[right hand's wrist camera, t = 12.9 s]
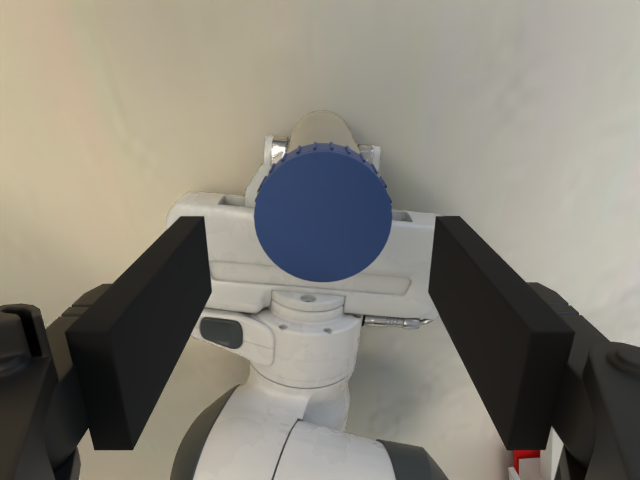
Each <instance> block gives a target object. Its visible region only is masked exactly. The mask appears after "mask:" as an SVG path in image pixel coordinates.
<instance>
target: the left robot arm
mask: <svg viewBox="0 0 640 480" xmlns="http://www.w3.org/2000/svg"><path fill="white" fill-rule="evenodd" d="M288 141H289V138H288V137H280V136H271V135H267V136H266V137H265V143H264V161H263V164H262V165H261V167H260V168H259V170H258V171H257V173H256V174H255V176H254V177H253V179H252V180H251V182H250V184H249V185H248V187H247V188H246V193H245V196H240V195H229V194H218V193H207V192H197V191H190V192H187V193H186V194H185V195H183V196H182V197H181V198H179V199H178V200H177V201H176V202H175V203H174V204H173V206H172V207H171V208H170V209H169V211H168V214H167V218H166V230H167V229H168V228H169V227H170V226H171V225H172V224H173V223H174V222H175V221H176V220H177V219H178V218H179V217H180V216H204V219H205V228H206V238H207V248H208V257H209V267H210V277H211V286H212V293H211V295H210V297H209V299H208V301H207V303H206V305H205V307H204V309H203V311H202V313H201V315H200V317H199V319H198V321H197V323H196V325H195V327H194V329H193V331H192V333H191V335H190V336H191V337H193V338H195V339H198V340H201V341H203V342H206V343H209V344H212V345H215V346H218V347H220V348H223V349H226V350H228V351H231V352H233V353H235V354H238V355H240V356H242V357H244V358H246V359H248V360H249V363H250V374H249V377H248V379H247V382H246V383H245V384H244V385H240V384H239V385H237V386H235V387H233V388H232V389H230V390H229V391H227V392H226V393H225V394H224V395H222V396H221V397H220V398H219V399H217V400H216V401H215V402H214V403H213V404H211V405H210V406H209V407H208V408H206V409H205V410H204V411H203V412H202V413H201V414H200V415H199V416H198V417H197V418H196V420H195V421H194V422H193V424H192V425H191V427H190V428H189V430H188V431H187V433H186V435H185V436H184V438H183V440H182V442H181V444H180V446H179V448H178V451H177V454H176V457H175V460H174V464H173V468H172V472H171V478H170V480H448V478H447V477H446V475H445V474H444V472H443V471H442V470H441V468H440V467H439V466H438V465H437V463H436V462H435V461H434V460H433V458H432V457H431V456H430V455H429V454H428V453H427V452H426V451H425V449H424V448H422V447H418V446H413V445H407V444H402V443H396V442H391V441H385V440H380V439H377V440H371V439H368V438H364V437H360V436H356V435H353V434H349V433H345V432H344V431H345V427H346V422H347V417H348V411H349V404H350V393H349V388H348V381H349V379H350V377H351V376H352V373H353V371H354V369H355V365H356V360H357V353H358V347H359V340H360V334H361V326H375V327H392V326H393V327H401V328H403V329H418V328H419V326H420V325H424V324H427V323H429V322H431V321H433V320H435V319H437V318H438V316H439V313H438V311H437V309H436V307H435V305H434V303H433V301H432V299H431V297H430V295H429V293H428V286H429V277H430V267H431V257H432V248H433V238H434V228H435V218H436V216H442V215H440V214H435V213H424V212H413V211H403V210H392V226H391V231H390V235H389V238H388V241H387V243H386V245H385V247H384V249H383V250H382V252H381V253H380V255H379V256H378V257H377V258H376V259H375V260H374V262H372V263H371V264H370V265H369V266H368V267H367V268H365V269H364V270H363V271H361V272H359V273H358V274H356V275H354V276H352V277H349V278H346V279H343V280H339V281H334V282H311V281H307V280H302V279H300V278H297V277H294V276H292V275H290V274H288V273H286V272H285V271H283V270H282V269H280V268H279V267H278V266H277V265H276V264H274V263H273V262H272V260H271V259H270V258H269V257H268V256H267V254H266V253H265V252H264V250H263V248H262V247H261V245H260V243H259V240H258V237H257V235H256V230H255V225H254V209H255V204H256V202H255V199H256V197H257V195H258V193H259V191H260V189H261V187H260V184H261V182H262V181H263V179H264V177H265V176H267V175H268V174H269V170H270V168H271V166H272V164H273V163H275V164H276V163H277V162H278V161H279V160H280V159H281V157H282V155H283V153H284V150H285V148H286V146H287V144H288ZM358 147H359V149H360V151H361V153H362V154H363V156H364V158H365V159H366V160H367V161H368V162H369V163H370V164H372V163H373V165H374V166H375V168H376V170H377V172H378V171H379V164H380V157H381V148H380V147H379V146H373V145H362V144H358ZM378 176H379V175H378ZM420 319H422V320H420Z"/></svg>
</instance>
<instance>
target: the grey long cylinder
mask: <svg viewBox="0 0 640 480" xmlns="http://www.w3.org/2000/svg"><path fill="white" fill-rule="evenodd" d="M314 142H317V143H330V142H333V144H337V145H341V146H344V147H346V145H347V146H349V149H351V150H353V151H355V152H357V153H358V154H360V153H361V151H360V149H359V147H358V145H357V143H356V141H355V139H354V137H353V135H352V133H351V131H350V129H349V127H348V125H347V124H346V122H345V121H344V120H343V119H342V118H341V117H340V116H339V115H337V114H335V113H333V112H330V111H325V110H318V111H314V112H311V113H308V114H307V115H305V116H304V117H303V118H301V119H300V121H299V122H298V123H297V125H296V127H295V129H294V131H293V133H292V135H291V137H290V139H289V142H288V144H287V146H286V148H285V150H284V153H287V154H288V153H289V152H291V151H293V150H295V149H297V148H298V146H299V145H301V147H302V146H305V145H309V144H314ZM284 153H283V155H284ZM283 155H282V157H283ZM282 157H281V158H282Z"/></svg>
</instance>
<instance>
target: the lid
mask: <svg viewBox="0 0 640 480" xmlns="http://www.w3.org/2000/svg"><path fill="white" fill-rule="evenodd" d="M260 187H261V189H260V191H259V193H258V195H257V197H256V199H255V202H256V204H255V209H254V225H255V230H256V235H257V237H258V240H259V243H260V245H261V247H262V248H263V250H264V252H265V253H266V254H267V256H268V257H269V258H270V259H271V260H272V262H273V263H274V264H276V265H277V266H278V267H279V268H280V269H282V270H283V271H285V272H286V273H288V274H290V275H292V276H294V277H297V278H300V279H302V280H307V281H311V282H334V281H339V280H343V279H346V278H349V277H352V276H354V275H356V274H358V273H359V272H361V271H363V270H364V269H365V268H367V267H368V266H369V265H370V264H371V263H372V262H374V260H375V259H376V258H377V257H378V256H379V255H380V253H381V252H382V250H383V249H384V247H385V245H386V243H387V241H388V238H389V235H390V231H391V226H392V208H391V203H392V202H391V199H390V197H389V195H388V193H387V191H386V189H385V188H386V187H387V186H386V184H385V182H384V181H383V179H382V177H381V176H380V177H379V176H378V172H377V170H376V168H375V166H374V165H373V163H372V164H370V163H369V162H368V161H367V160H366V159H365V158H364V156H363V154H362V153H360V154H358V153H357V152H355V151H353V150H351V149H349V146H347V145H346V147H344V146H341V145H337V144H333V142H330V143H317V142H314V144H309V145H305V146H302V147H301V145H299V146H298V148H297V149H295V150H293V151H291V152H289V153H288V154H287V153H284V155H283V157H282V158H281V159H280V160H279V161H278V162H277V163H276V164H275V163H273V164H272V166H271V168H270V170H269V174H268V176H265V177H264V179H263V181H262V182H261V184H260Z"/></svg>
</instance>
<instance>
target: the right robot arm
mask: <svg viewBox="0 0 640 480" xmlns="http://www.w3.org/2000/svg"><path fill="white" fill-rule="evenodd" d="M211 293H212V286H211V277H210V267H209V257H208V248H207V238H206V228H205V219H204V216H180V217H179V218H178V219H177V220H176V221H175V222H174V223H173V224H172V225H171V226H170V227H169V228H168V229H167V230H166V231H165V232H164V233H163V234H162V235H161V236H160V237H159V238H158V239H157V240H156V241H155V242H154V243H153V244H152V245H151V246H150V247H149V248H148V249H147V250H146V251H145V252H144V253H143V254H142V255H141V256H140V257H139V258H138V259H137V260H136V261H135V262H134V263H133V264H132V265H131V266H130V267H129V268H128V269H127V270H126V271H125V272H124V273H123V274H122V275H121V276H120V277H119V278H118V279H117V280H116V281H115V282H114V283H113V284H102V285H100V286H98V287H96V288H94V289H92V290H90V291H88V292H86V293H85V294H83V295H82V296H81V297H80V298H79V299H78V300H77V301H76V302H75V303H74V304H72V307H69V308H68V309H67V310H66V311H65V312H64V313H63V314H62V317H58V318H57V319H56V320H55V321H54V322H53V323H52V324H51V325H50V326H49V327H47V328H46V329H45V327H44V323H43V319H42V316H41V312H40V309H39V308H37V307H35V306H34V305H28V304H11V305H3V306H0V480H79V473H80V467H81V462H80V455H79V452H78V448H77V445H78V443H79V442H80V440H81V439H82V437H83V436H84V434H85V433H86V431H87V430H88V428H89V430H90V434H91V438H92V442H93V446H94V450H133V449H134V447H135V445H136V443H137V441H138V439H139V437H140V435H141V433H142V431H143V429H144V427H145V425H146V423H147V421H148V419H149V417H150V415H151V413H152V411H153V409H154V407H155V405H156V403H157V401H158V399H159V397H160V395H161V393H162V391H163V389H164V387H165V385H166V383H167V381H168V379H169V377H170V375H171V373H172V371H173V369H174V367H175V365H176V363H177V361H178V359H179V357H180V355H181V353H182V351H183V349H184V347H185V345H186V343H187V341H188V339H189V337H190V335H191V333H192V331H193V329H194V327H195V325H196V323H197V321H198V319H199V317H200V315H201V313H202V311H203V309H204V307H205V305H206V303H207V301H208V299H209V297H210V295H211ZM428 293H429V295H430V297H431V299H432V301H433V303H434V305H435V307H436V309H437V311H438V313H439V315H440V317H441V319H442V321H443V323H444V325H445V327H446V329H447V331H448V333H449V335H450V337H451V339H452V341H453V343H454V345H455V347H456V349H457V351H458V353H459V355H460V357H461V359H462V361H463V363H464V365H465V367H466V369H467V371H468V373H469V375H470V377H471V379H472V381H473V383H474V385H475V387H476V389H477V391H478V393H479V395H480V397H481V399H482V401H483V403H484V405H485V407H486V409H487V411H488V413H489V415H490V417H491V419H492V421H493V423H494V425H495V427H496V429H497V431H498V433H499V435H500V437H501V439H502V441H503V443H504V445H505V447H506V449H507V450H546V446H547V442H548V438H549V434H550V430H551V426H552V427H553V429H554V430H555V432H556V433H557V435H558V436H559V438H560V439H561V441H562V442H563V448H562V452H561V455H560V459H559V463H558V466H557V470H556V474H555V477H554V480H640V347H636V346H633V345H629V344H625V343H618V342H610V341H609V340H608V339H607V338H606V337H605V336H604V335H603V334H601V333H600V332H599V331H598V330H597V329H596V328H595V327H594V326H593V325H592V324H590V323H589V322H588V321H587V320H586V319H585V318H584V317H583V316H582V315H579V313H578V312H577V311H576V310H575V309H574V308H573V307H572V306H569V305H568V303H567V302H566V301H565V300H564V299H563V298H562V297H561V296H560V295H559V294H558V293H556V292H555V291H553V290H551V289H549V288H547V287H545V286H543V285H541V284H539V283H537V282H525V281H524V280H523V279H522V278H521V277H520V276H519V275H518V274H517V273H516V272H515V271H514V270H513V269H512V268H511V267H510V266H509V265H508V264H507V263H506V262H505V261H504V260H503V259H502V258H501V257H500V256H499V255H498V254H497V253H496V252H495V251H494V250H493V249H492V248H491V247H490V246H489V245H488V244H487V243H486V242H485V241H484V240H483V239H482V238H481V237H480V236H479V235H478V234H477V233H476V232H475V231H474V230H473V229H472V228H471V227H470V226H469V225H468V224H467V223H466V222H465V221H464V220H463V219H462V218H461V217H460V216H436V218H435V228H434V238H433V248H432V257H431V267H430V277H429V286H428Z"/></svg>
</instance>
